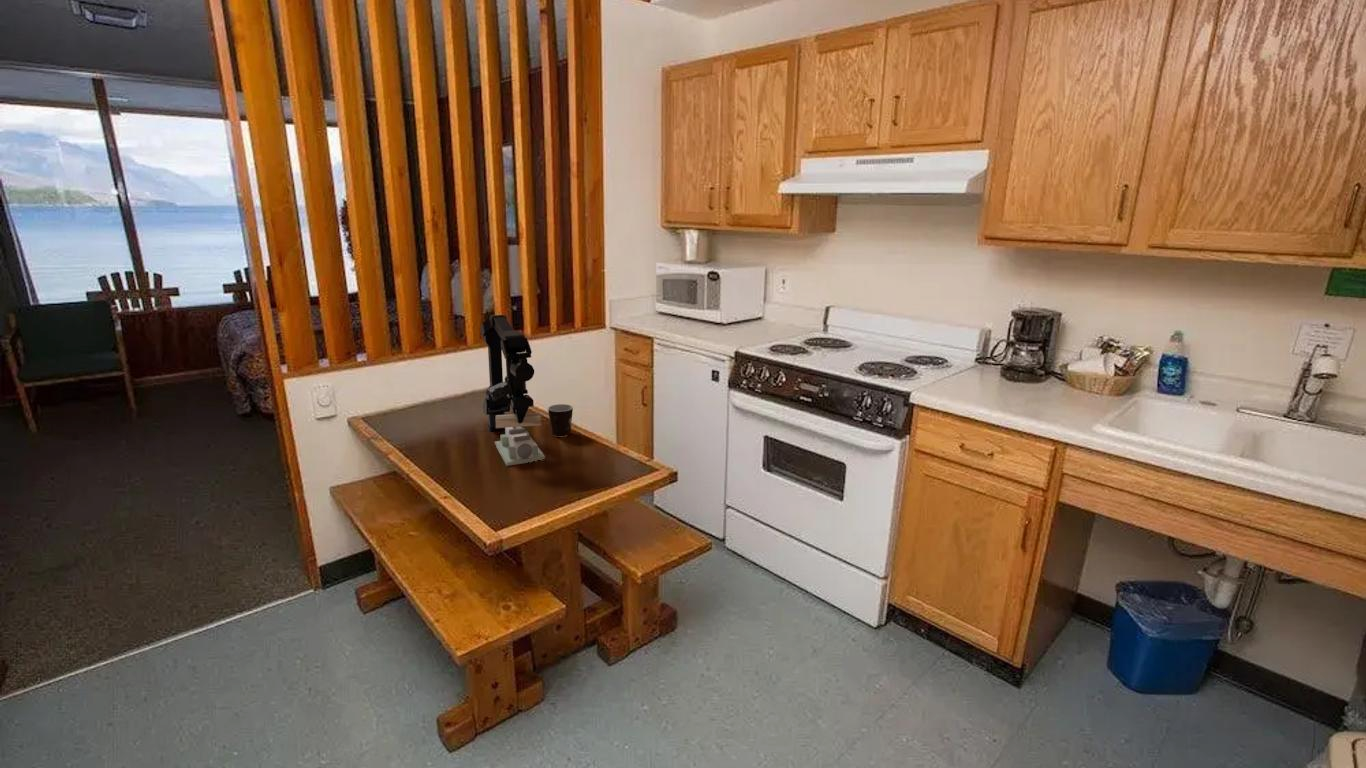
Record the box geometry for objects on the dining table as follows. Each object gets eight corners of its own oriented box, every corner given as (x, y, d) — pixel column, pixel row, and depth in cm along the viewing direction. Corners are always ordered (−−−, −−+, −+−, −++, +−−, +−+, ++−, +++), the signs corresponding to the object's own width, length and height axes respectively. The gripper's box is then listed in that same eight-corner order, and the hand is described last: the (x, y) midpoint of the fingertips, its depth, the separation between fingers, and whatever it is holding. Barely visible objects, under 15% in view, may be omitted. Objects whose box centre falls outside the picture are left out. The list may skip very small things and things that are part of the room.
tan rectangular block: (496, 424, 196) (495, 415, 195) (540, 421, 200) (540, 412, 199) (495, 428, 192) (495, 419, 192) (541, 425, 196) (540, 416, 195)
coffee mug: (560, 428, 223) (559, 402, 220) (578, 433, 219) (577, 406, 216) (537, 438, 213) (536, 411, 211) (556, 443, 209) (555, 415, 206)
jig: (495, 444, 206) (493, 419, 204) (530, 439, 212) (529, 414, 209) (507, 467, 188) (505, 439, 186) (545, 460, 194) (544, 433, 191)
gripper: (484, 369, 196) (487, 415, 200) (495, 383, 180) (498, 433, 184) (519, 366, 201) (521, 411, 205) (532, 380, 185) (535, 428, 189)
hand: (518, 420), depth 196 cm, fingers closed on tan rectangular block, 4 cm apart
